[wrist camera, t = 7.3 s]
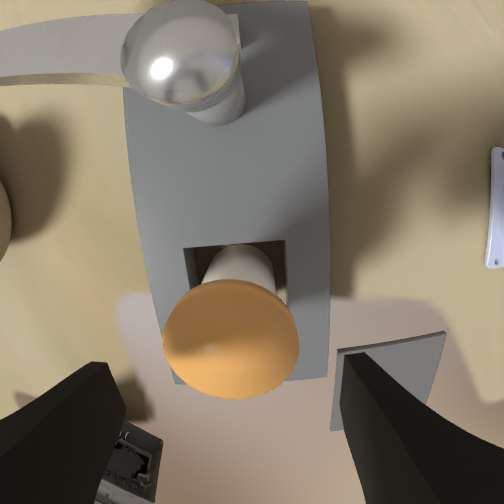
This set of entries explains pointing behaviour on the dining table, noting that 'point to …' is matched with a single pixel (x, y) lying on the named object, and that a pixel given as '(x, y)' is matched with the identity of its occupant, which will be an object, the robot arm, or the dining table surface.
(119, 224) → the dining table surface
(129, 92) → the grey panel with tab
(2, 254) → the ceramic mug
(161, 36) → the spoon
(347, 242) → the dining table surface
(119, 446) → the electrical switch
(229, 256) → the mushroom
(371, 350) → the rubber mat
